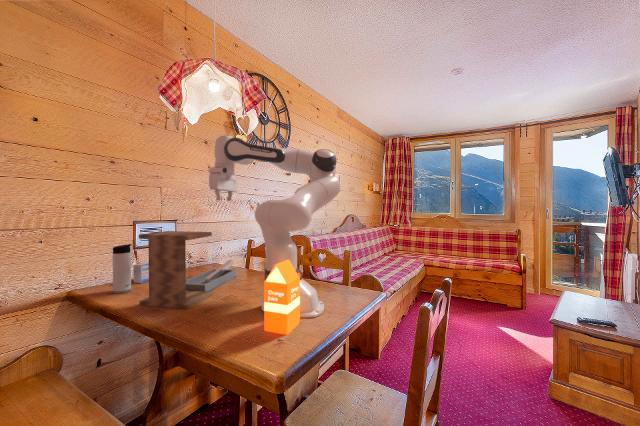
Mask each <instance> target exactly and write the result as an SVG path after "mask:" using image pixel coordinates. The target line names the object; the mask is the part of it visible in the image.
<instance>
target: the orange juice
mask: <svg viewBox="0 0 640 426" xmlns="http://www.w3.org/2000/svg"><path fill="white" fill-rule="evenodd" d="M263 282H264V283H263V285H264V295H263V300H264V312H263V313H264V316H263V317H264V318H263V319H264V322H263V323H264V325H263V326H264V328H263V329H264V330H263V331H265V332H270V333H274V334H281V335H289V334H290V333H291V332H292V331H293V330H294V329H295V328H296V327H297V326H299V324H300V319H301V317H300V277H299V276H298V274H297V272H296V271H295V269H294V267H293V266H292V264H291V262H290V261H289V259H288V260H285V261H283V262H280V263H278V264H276V265H275V266H274V268H273V269H272V271H271V272H270V274H269V276H268V277H267V279H266V280H264V281H263Z"/></svg>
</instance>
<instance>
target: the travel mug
mask: <svg viewBox="0 0 640 426" xmlns="http://www.w3.org/2000/svg"><path fill="white" fill-rule="evenodd" d="M132 245H133V244H132V243H128V244H121V245H117V246H116V245H115V246H114V247H112V293H113V294H117V295H118V294H119V295H121V294H125V293H129V292H131V291H132V262H131V261H132V259H131V258H132V257H131V256H132V255H131V254H132V251H131V247H132Z"/></svg>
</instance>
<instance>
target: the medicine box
mask: <svg viewBox="0 0 640 426" xmlns="http://www.w3.org/2000/svg"><path fill="white" fill-rule="evenodd" d="M132 266H133V267H132V268H133V269H132V270H133V273H132V274H133V284H134V283H135V284H144V283H147V282H149V261H146V262H142V263H138V264H133V265H132Z"/></svg>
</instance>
